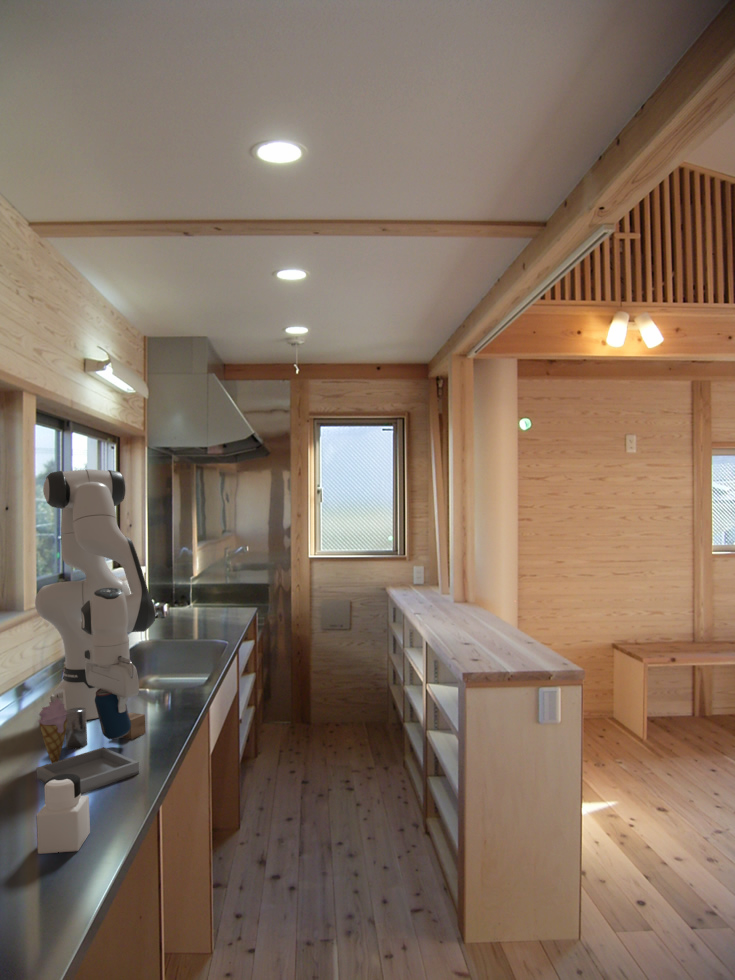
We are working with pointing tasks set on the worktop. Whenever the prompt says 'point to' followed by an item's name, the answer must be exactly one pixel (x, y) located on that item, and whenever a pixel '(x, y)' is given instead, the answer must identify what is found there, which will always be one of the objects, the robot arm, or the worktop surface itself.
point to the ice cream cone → (53, 728)
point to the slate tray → (92, 768)
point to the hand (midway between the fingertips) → (112, 708)
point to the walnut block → (136, 726)
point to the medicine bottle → (63, 816)
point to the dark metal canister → (76, 728)
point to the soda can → (111, 715)
